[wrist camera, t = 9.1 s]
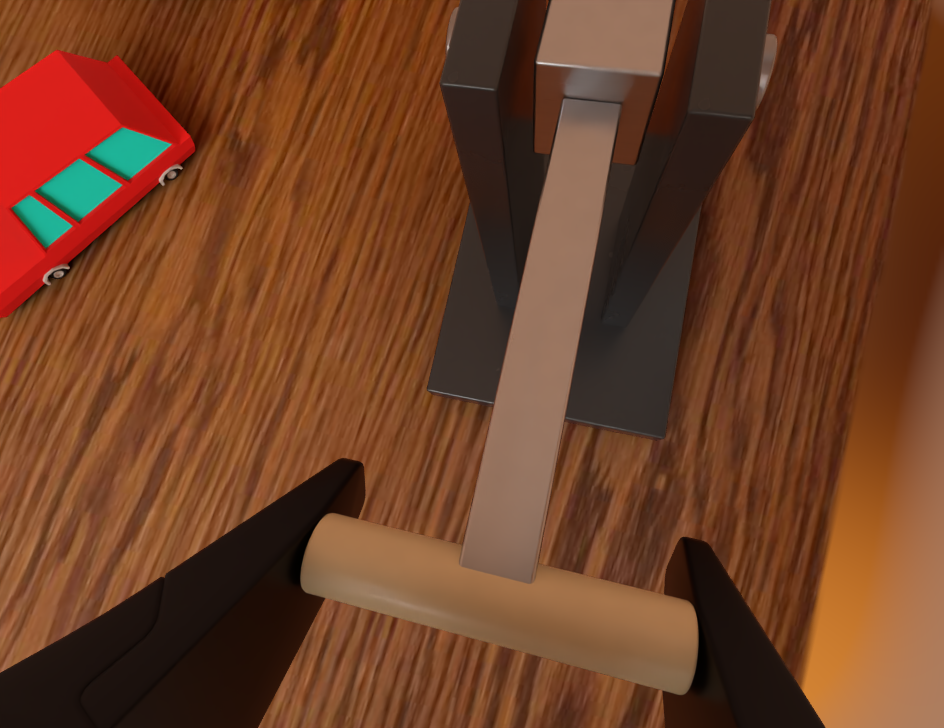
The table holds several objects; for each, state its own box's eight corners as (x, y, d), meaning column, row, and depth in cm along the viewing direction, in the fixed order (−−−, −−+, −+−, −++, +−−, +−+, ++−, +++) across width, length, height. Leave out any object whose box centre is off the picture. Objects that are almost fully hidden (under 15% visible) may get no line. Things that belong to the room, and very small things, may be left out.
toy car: (-52, 234, 27) (-154, 193, 23) (135, 72, 27) (66, 5, 23) (13, 327, 25) (-84, 301, 21) (209, 154, 26) (149, 97, 22)
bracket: (658, 441, 21) (876, 389, 7) (431, 394, 22) (264, 280, 9) (703, 156, 23) (942, -301, 9) (492, 130, 24) (432, -298, 11)
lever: (660, 673, 9) (709, 724, 6) (333, 585, 9) (270, 601, 7) (732, 69, 12) (781, -42, 10) (485, 45, 13) (476, -63, 10)
